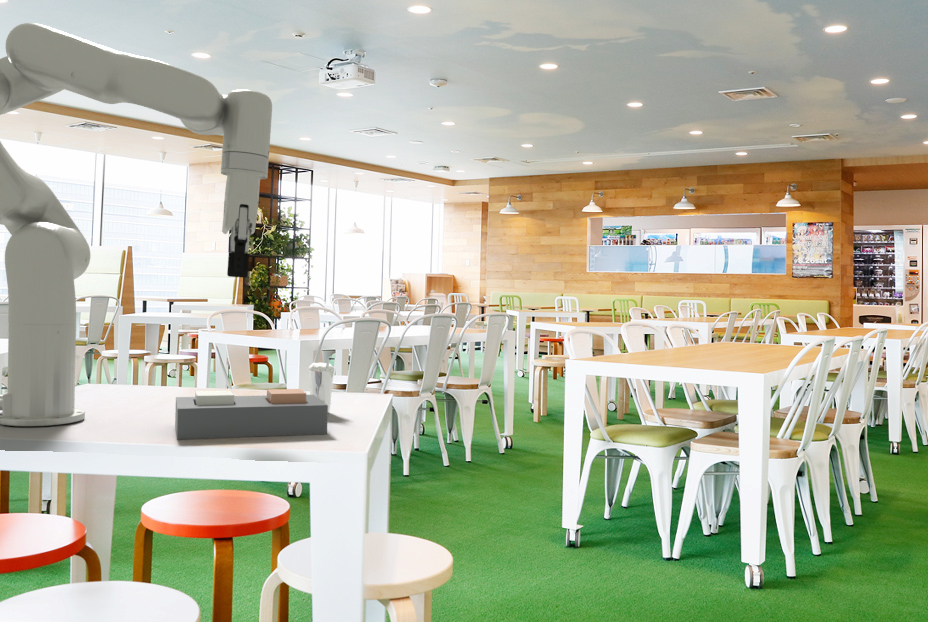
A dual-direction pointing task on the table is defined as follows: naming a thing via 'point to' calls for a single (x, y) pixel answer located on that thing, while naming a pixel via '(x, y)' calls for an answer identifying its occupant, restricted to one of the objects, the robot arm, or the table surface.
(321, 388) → the milkshake
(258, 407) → the key panel
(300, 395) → the clay key
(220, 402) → the white square block
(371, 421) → the table surface
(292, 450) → the table surface
